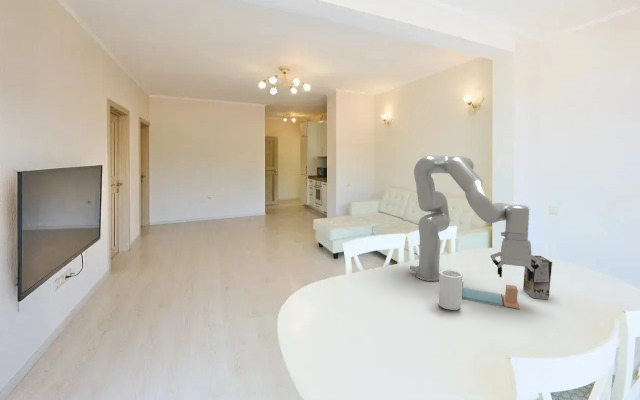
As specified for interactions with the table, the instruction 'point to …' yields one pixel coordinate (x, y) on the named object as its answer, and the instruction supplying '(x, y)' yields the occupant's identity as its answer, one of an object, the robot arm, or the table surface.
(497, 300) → the gray-edged light blue slab
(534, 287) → the coffee box
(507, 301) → the tan stepped block
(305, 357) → the table surface
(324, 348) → the table surface
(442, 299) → the cup
